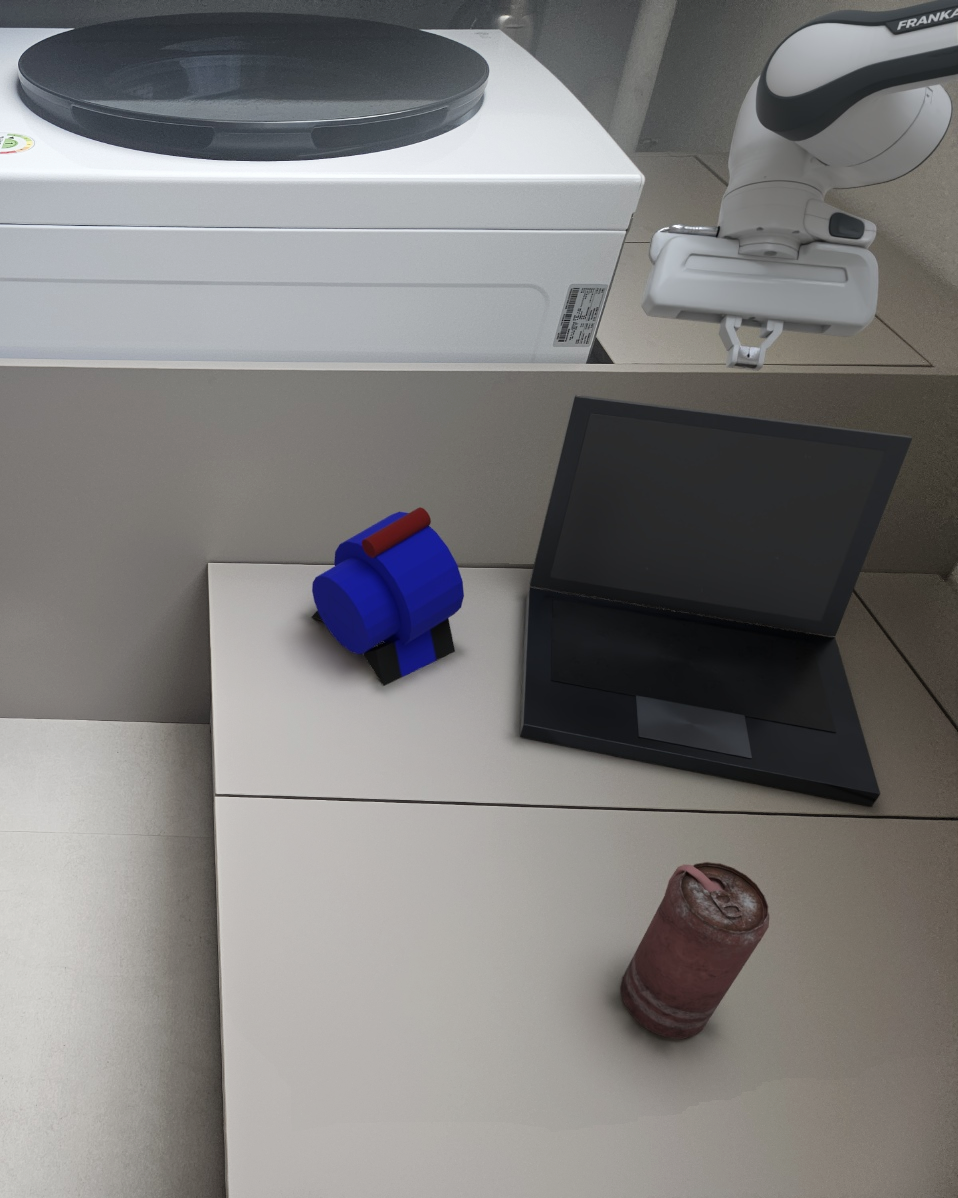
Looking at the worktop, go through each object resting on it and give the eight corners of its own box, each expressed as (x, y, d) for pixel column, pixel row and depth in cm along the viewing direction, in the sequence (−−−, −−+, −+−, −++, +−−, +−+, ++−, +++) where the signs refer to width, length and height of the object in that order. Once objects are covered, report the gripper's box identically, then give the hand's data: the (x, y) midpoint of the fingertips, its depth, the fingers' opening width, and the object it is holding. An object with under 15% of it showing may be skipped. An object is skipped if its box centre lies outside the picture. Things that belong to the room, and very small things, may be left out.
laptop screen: (913, 438, 96) (909, 435, 97) (574, 396, 103) (574, 394, 104) (835, 637, 106) (833, 633, 106) (529, 586, 112) (529, 583, 113)
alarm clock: (459, 649, 108) (486, 533, 98) (367, 693, 103) (386, 576, 93) (382, 585, 116) (400, 472, 106) (293, 624, 111) (304, 509, 101)
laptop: (872, 807, 91) (881, 793, 90) (519, 737, 98) (523, 723, 97) (828, 650, 107) (836, 636, 106) (525, 599, 114) (529, 586, 112)
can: (638, 948, 81) (695, 839, 72) (719, 1003, 78) (789, 894, 69) (600, 1000, 78) (655, 892, 69) (683, 1059, 75) (751, 953, 66)
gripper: (661, 207, 101) (638, 344, 100) (896, 226, 97) (873, 370, 96) (646, 235, 107) (623, 364, 107) (866, 255, 103) (844, 390, 102)
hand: (744, 367), depth 101 cm, fingers closed
